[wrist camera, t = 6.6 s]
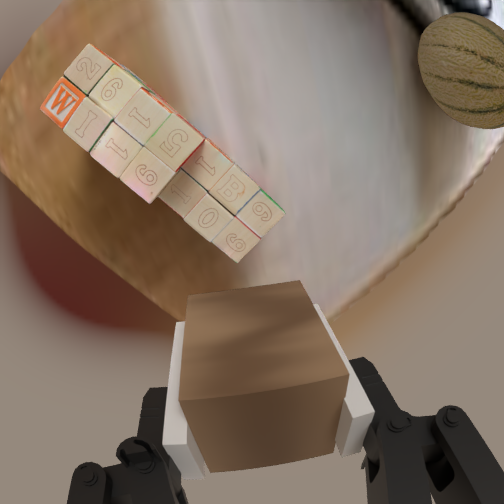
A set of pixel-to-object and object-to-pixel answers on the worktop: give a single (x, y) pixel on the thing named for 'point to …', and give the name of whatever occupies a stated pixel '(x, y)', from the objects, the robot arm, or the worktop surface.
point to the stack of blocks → (159, 152)
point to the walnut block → (259, 377)
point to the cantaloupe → (465, 68)
